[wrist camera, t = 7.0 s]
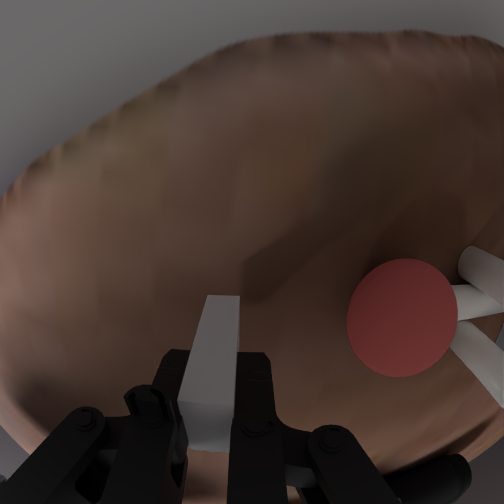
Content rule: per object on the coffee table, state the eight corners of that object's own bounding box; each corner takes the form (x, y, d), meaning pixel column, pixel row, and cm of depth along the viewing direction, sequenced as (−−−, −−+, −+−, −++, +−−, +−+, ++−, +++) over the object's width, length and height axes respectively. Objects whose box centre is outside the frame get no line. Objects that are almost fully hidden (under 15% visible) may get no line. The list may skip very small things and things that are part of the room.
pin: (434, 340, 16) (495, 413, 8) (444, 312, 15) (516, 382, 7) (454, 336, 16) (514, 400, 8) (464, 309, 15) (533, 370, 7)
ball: (454, 370, 11) (389, 328, 16) (487, 270, 9) (405, 241, 15) (385, 420, 9) (317, 353, 14) (429, 296, 7) (329, 251, 13)
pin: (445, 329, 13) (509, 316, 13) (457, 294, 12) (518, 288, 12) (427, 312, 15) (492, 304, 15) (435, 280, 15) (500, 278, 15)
